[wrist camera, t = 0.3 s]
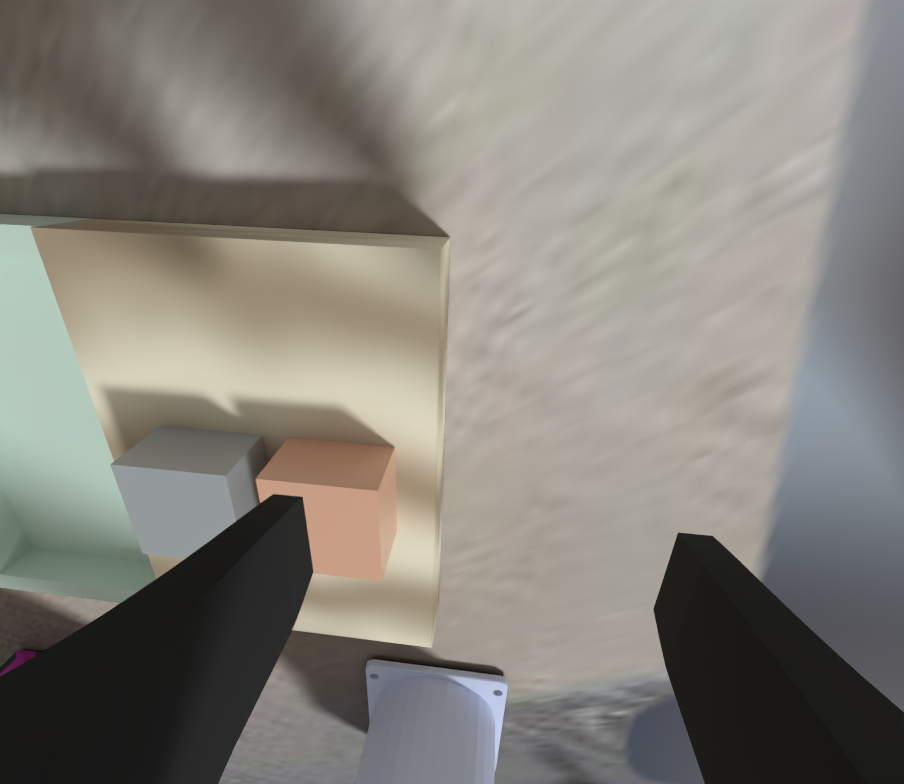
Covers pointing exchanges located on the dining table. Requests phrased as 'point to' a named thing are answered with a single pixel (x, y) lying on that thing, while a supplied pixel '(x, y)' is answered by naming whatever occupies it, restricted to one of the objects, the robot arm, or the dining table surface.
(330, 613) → the birch plate
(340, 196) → the dining table surface
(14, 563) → the sage tray
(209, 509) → the slate-grey block
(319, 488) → the terracotta block
